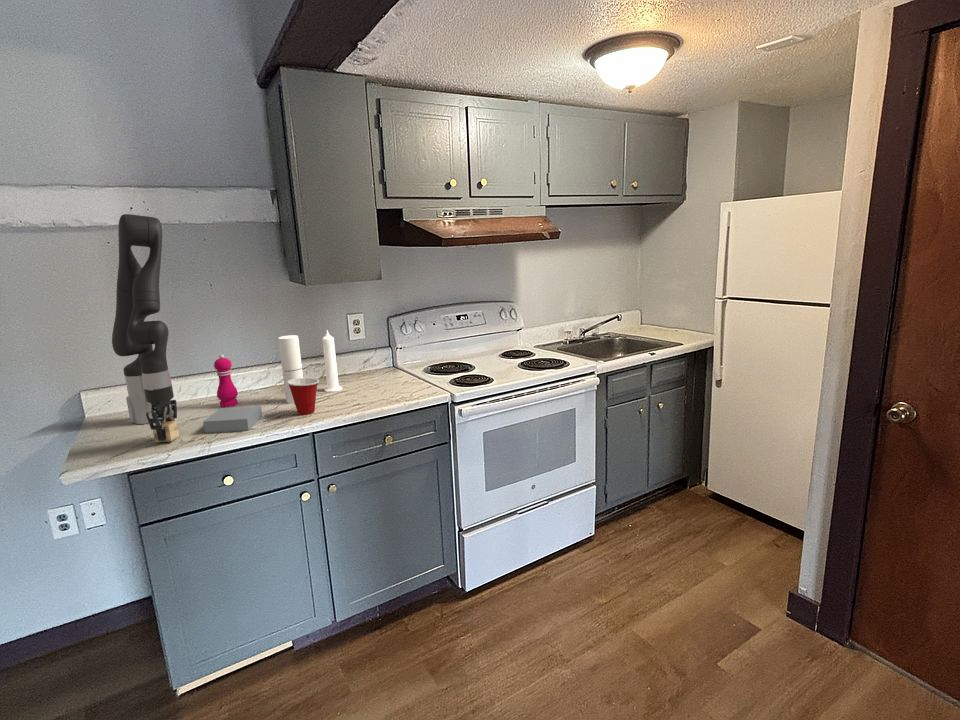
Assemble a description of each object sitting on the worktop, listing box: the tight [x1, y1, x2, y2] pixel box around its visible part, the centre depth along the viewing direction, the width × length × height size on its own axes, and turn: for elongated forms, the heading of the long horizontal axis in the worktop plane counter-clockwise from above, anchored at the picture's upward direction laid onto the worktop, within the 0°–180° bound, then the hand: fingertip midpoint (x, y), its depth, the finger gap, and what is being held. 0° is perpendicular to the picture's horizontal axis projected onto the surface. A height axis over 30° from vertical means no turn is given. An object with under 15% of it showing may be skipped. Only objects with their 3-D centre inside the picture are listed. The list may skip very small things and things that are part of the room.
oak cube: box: [152, 420, 180, 443], centre depth 169 cm, size 5×5×5 cm
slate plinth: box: [202, 405, 263, 434], centre depth 182 cm, size 14×14×4 cm
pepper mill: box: [213, 353, 239, 408], centre depth 202 cm, size 7×7×20 cm
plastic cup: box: [287, 377, 320, 416], centre depth 191 cm, size 11×11×12 cm
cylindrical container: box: [277, 334, 304, 404], centre depth 204 cm, size 7×7×25 cm
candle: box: [321, 329, 343, 393], centre depth 217 cm, size 7×7×25 cm
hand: (166, 436), depth 169 cm, fingers closed on oak cube, 5 cm apart
